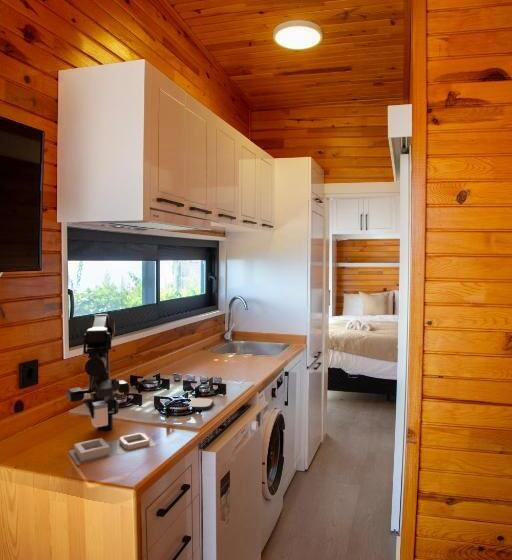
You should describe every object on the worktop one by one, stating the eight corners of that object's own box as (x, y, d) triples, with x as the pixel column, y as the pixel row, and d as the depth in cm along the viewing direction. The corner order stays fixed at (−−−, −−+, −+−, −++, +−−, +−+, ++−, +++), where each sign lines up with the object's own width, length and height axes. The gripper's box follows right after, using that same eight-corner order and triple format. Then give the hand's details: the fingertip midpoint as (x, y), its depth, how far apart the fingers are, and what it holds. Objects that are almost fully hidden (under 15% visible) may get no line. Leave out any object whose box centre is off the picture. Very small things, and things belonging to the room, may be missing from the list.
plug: (91, 424, 158) (90, 402, 158) (103, 421, 160) (103, 400, 160) (95, 427, 155) (94, 405, 155) (108, 425, 157) (107, 403, 157)
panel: (68, 453, 159) (67, 443, 159) (145, 436, 173) (145, 426, 173) (77, 467, 149) (77, 456, 149) (158, 447, 163) (158, 437, 163)
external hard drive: (153, 410, 202) (152, 405, 202) (161, 401, 213) (161, 397, 213) (209, 412, 200) (209, 407, 200) (214, 403, 211) (214, 398, 211)
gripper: (74, 378, 145) (76, 430, 146) (135, 369, 155) (136, 417, 156) (65, 371, 154) (66, 420, 155) (122, 363, 165) (124, 408, 165)
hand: (99, 416), depth 158 cm, fingers closed on plug, 4 cm apart
